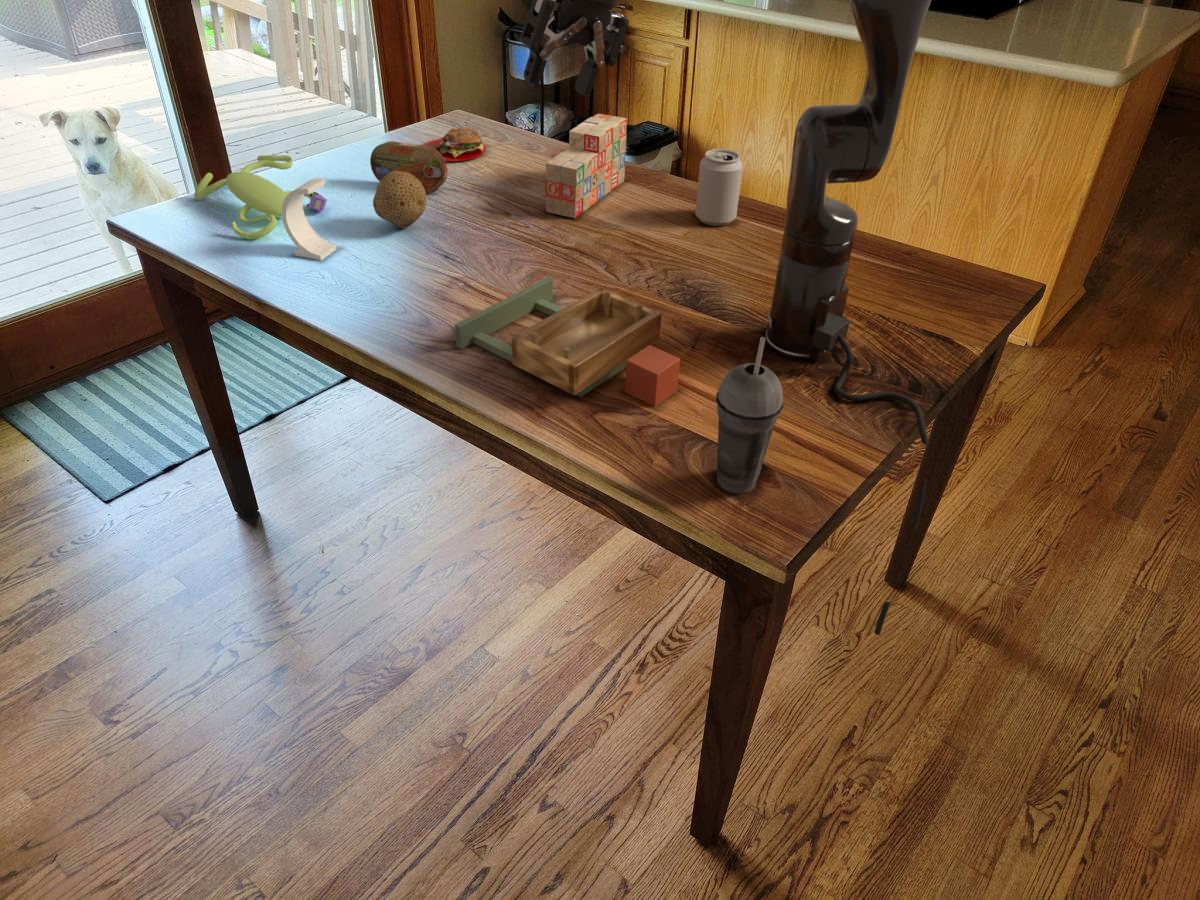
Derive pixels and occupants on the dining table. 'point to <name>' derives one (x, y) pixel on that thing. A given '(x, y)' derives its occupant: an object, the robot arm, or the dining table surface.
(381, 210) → the natural sponge
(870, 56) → the robot arm
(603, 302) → the open box
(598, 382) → the green rectangular frame
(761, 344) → the beverage cup
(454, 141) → the hamburger
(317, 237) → the headphone stand
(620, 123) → the stack of blocks
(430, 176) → the tin
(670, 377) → the block
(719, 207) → the can
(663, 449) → the dining table surface
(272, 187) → the figurine
